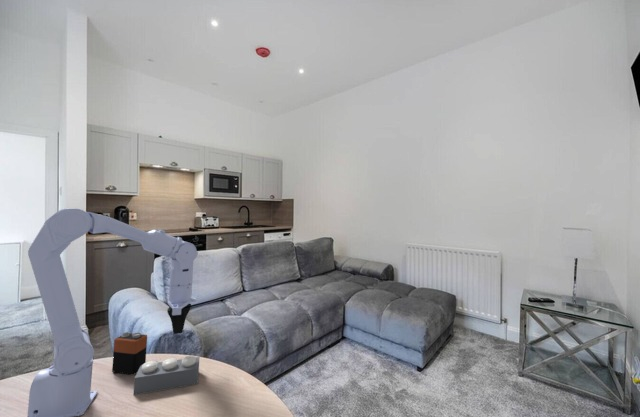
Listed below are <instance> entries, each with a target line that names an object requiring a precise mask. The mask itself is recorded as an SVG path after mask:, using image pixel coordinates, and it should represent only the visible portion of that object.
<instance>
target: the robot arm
mask: <svg viewBox="0 0 640 417" xmlns="http://www.w3.org/2000/svg"><path fill="white" fill-rule="evenodd" d="M88 232H89V233H90V234H94V235H95V234H102V233H108V234H112V235H115V236H118V237H121V238H124V239H128V240H131V241H134V242H138V243H140V245H141V247H142V249H143V251H147V252H149V253H153V254H155V255H159V256H161V257H164V258H166V259H167V258H170V259H171V260H170V261H171V262H170V264H171V265H170V277H169V289H168V290H169V291H168V300H167V304H168V308H167V310H166V311H167V314H168V316H169V318H170V321H171V326H172V332H173V334H174V335H176V334H182V333H183V331H184V328H185V324H186V319H187V316H188V314H189V313H190V310H191V307H192V303H195V302H196V299H197V298H196V297H192V291H193V278H194V277H193V276H194V261H195V260H196V258H198V257H197V256H198V253H199V251H197V247H196V246H195V244H193V243H191V242H188V241H184V240H183V238H182V237H180V236H177V237H176V236H172V235H171V234H167V233H166V230H163V229H158V230H157V229H152V230H149V231H145V230H144V229H140V228H137V227H135V226H133V225H130V224H128V223H125V222H123V221H120V220H118V219H116V218H113V217H110V216H108V215H104V214H98V213H94V212H91V211H90V212H89V211H86V210H83V209H80V208H76V207H75V208H74V207H70V208H69V207H67V208H63V209H60V210H58V211H56V212H55V213H54V214H52V215H51V216H50V217H49V218H48V219H46V220H45V222H44V223H43V225H42V227H41V228H40V230H39V232H38V233H37V235H36V236H35V238H34V239H33V242H32V243H31V245H30V246H29V248H28V250H27V254H28V259H29V261H30V265H31V268H32V271H33V275H34V277H35V282H36V285H37V288H38V291H39V294H40V298H41V301H42V304H43V308H44V310H45V314H46V317H47V319H48V324H49V327H50V330H51V333H52V338H53V345H52V352H53V363H52V364H51V366H49V367H48V368H43V369H41V370H40V371H39V370H38V372H37V373H36V375H35V376H34V377H33V380H32V382H31V384H30V387H29V394H28V407H27V417H79V416H83V415H85V413H86V411H87V409H88V408H89V406H90V405H91V404H92V402H93V400H94V399H95V397H96V396H97V394H98V390H92V379H93V377H92V376H93V364H94V358H93V357H94V354H95V350H94V347H93V345H92V344H91V340H90V335H89V333H88V332H87V331H86V330H85V329H83V328H82V326H81V323H80V320H79V317H78V313H77V309H76V307H75V306H76V305H75V302H74V300H73V294H72V293H71V289H70V285H69V282H68V278H67V274H66V272H65V268H64V264H63V261H62V258H61V254H62V253H63V252H64V251H65V250H66V249H67V248H68V247H69V246H70V245H71V243H73V242H74V241H76V240H77V239H80V238H81V237H83V236H84V235H86V234H88Z"/></svg>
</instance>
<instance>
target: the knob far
mask: <svg viewBox="0 0 640 417" xmlns="http://www.w3.org/2000/svg"><path fill="white" fill-rule="evenodd" d="M196 357H197V356H195V355H188V356H185V357H183V358H181V359H182V366H183V367H190V366H193V365H194V364H195V363H196Z"/></svg>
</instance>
